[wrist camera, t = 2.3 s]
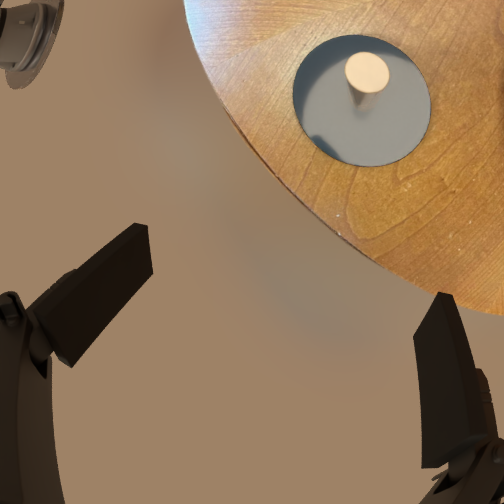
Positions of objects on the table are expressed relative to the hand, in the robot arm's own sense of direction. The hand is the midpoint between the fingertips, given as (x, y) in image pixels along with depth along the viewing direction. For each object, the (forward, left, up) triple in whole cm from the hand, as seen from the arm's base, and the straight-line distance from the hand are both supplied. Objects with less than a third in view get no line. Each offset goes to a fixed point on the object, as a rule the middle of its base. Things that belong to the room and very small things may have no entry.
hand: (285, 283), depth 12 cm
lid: (-5, +10, -16) cm, 19 cm away
